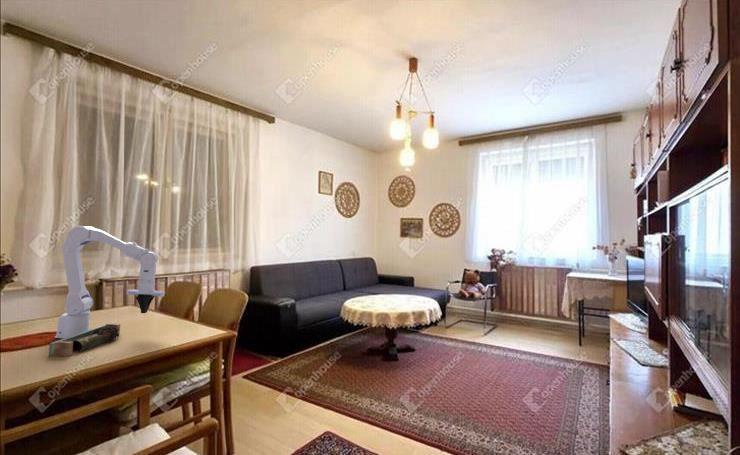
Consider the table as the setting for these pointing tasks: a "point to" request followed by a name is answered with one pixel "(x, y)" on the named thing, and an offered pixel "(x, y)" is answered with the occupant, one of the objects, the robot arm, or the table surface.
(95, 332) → the metal pipe
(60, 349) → the dock
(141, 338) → the table surface
